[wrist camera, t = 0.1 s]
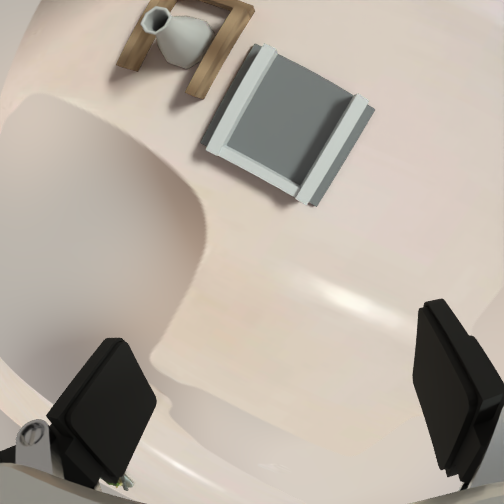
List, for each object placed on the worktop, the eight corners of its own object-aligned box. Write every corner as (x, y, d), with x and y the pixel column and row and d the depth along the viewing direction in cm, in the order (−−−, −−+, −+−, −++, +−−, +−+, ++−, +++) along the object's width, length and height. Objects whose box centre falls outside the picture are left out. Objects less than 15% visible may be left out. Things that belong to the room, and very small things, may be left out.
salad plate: (147, 490, 79) (143, 501, 75) (107, 481, 83) (103, 491, 79) (118, 461, 73) (113, 472, 68) (78, 452, 76) (72, 461, 72)
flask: (150, 49, 33) (110, 32, 24) (187, 8, 31) (156, -21, 21) (188, 78, 34) (155, 65, 25) (227, 36, 32) (206, 10, 23)
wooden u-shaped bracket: (177, -14, 29) (166, -25, 26) (255, 11, 30) (250, -1, 26) (131, 68, 34) (115, 64, 31) (203, 99, 35) (193, 96, 32)
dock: (255, 44, 32) (252, 38, 29) (374, 109, 33) (380, 108, 30) (201, 142, 37) (194, 144, 34) (316, 205, 38) (318, 212, 36)
